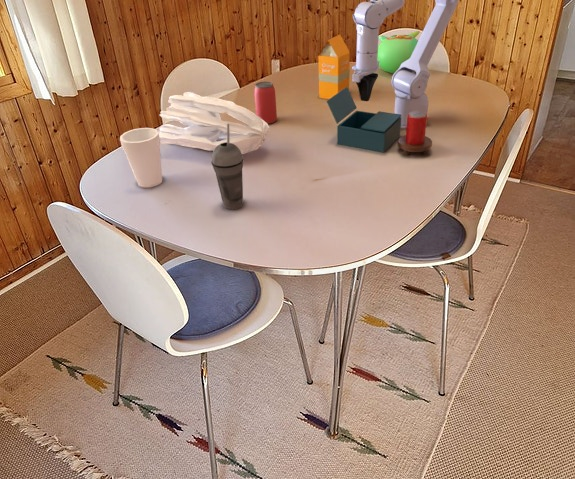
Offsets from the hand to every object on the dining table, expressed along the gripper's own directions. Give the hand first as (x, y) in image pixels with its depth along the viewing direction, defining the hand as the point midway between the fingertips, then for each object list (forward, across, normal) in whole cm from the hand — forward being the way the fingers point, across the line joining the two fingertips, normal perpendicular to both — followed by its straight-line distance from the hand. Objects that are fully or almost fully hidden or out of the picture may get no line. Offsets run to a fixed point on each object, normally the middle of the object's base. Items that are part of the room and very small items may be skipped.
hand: (365, 100), depth 142 cm
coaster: (+10, +6, +17) cm, 21 cm away
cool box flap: (+1, +4, -5) cm, 7 cm away
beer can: (+11, +2, -33) cm, 34 cm away
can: (+7, +6, +17) cm, 20 cm away
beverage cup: (+11, +50, -12) cm, 53 cm away
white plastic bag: (+11, +28, -36) cm, 46 cm away
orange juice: (+10, -28, -23) cm, 38 cm away
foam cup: (+11, +50, -39) cm, 64 cm away
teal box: (+10, +4, +3) cm, 12 cm away
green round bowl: (+10, -62, -12) cm, 64 cm away
